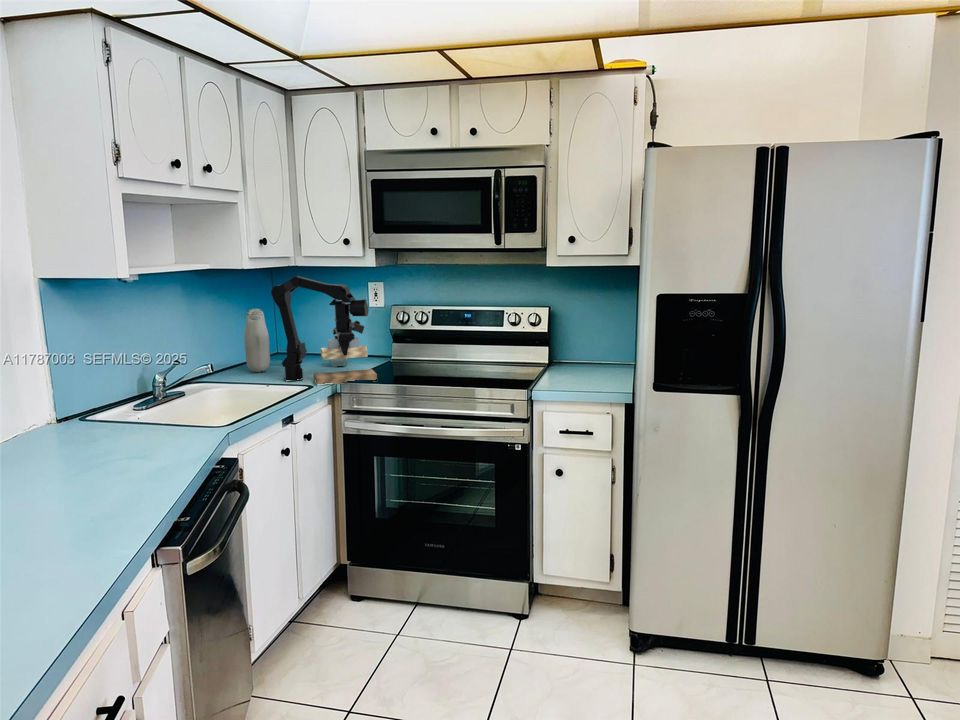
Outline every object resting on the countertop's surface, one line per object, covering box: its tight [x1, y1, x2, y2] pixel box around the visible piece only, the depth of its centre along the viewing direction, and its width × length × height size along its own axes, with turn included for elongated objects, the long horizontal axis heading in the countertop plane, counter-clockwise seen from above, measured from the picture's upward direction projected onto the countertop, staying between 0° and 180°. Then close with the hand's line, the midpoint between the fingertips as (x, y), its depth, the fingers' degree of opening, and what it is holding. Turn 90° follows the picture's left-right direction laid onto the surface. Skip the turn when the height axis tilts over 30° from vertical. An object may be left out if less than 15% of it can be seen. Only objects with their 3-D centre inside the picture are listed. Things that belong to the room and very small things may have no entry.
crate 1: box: [327, 338, 339, 349], centre depth 280 cm, size 4×4×4 cm
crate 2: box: [348, 337, 360, 348], centre depth 283 cm, size 4×4×4 cm
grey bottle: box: [243, 308, 271, 373], centre depth 302 cm, size 10×10×28 cm
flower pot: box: [328, 358, 350, 368], centre depth 315 cm, size 9×9×9 cm
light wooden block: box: [320, 344, 368, 361], centre depth 282 cm, size 18×6×4 cm, turn 109°
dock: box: [313, 368, 378, 386], centre depth 283 cm, size 24×11×3 cm, turn 109°
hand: (344, 354), depth 282 cm, fingers closed on light wooden block, 5 cm apart
